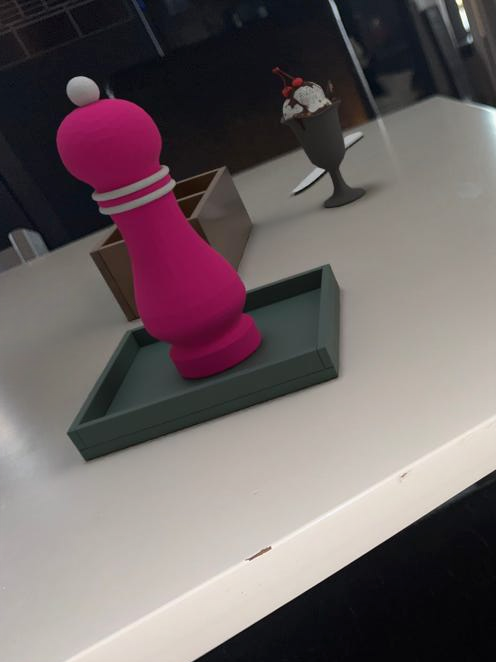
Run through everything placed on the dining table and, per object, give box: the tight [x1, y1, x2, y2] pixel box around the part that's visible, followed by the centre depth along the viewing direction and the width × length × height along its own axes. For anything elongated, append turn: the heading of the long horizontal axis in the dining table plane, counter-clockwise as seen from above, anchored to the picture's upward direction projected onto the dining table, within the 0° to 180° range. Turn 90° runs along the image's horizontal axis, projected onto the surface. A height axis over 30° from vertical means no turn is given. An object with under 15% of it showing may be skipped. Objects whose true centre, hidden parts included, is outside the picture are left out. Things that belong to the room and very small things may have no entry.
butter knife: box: [290, 131, 364, 194], centre depth 103 cm, size 1×24×3 cm
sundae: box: [271, 66, 366, 208], centre depth 82 cm, size 7×7×15 cm
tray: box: [66, 263, 341, 462], centre depth 56 cm, size 17×15×2 cm
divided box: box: [89, 165, 253, 322], centre depth 78 cm, size 10×19×7 cm, turn 10°
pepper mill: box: [55, 76, 261, 379], centre depth 51 cm, size 7×7×20 cm
